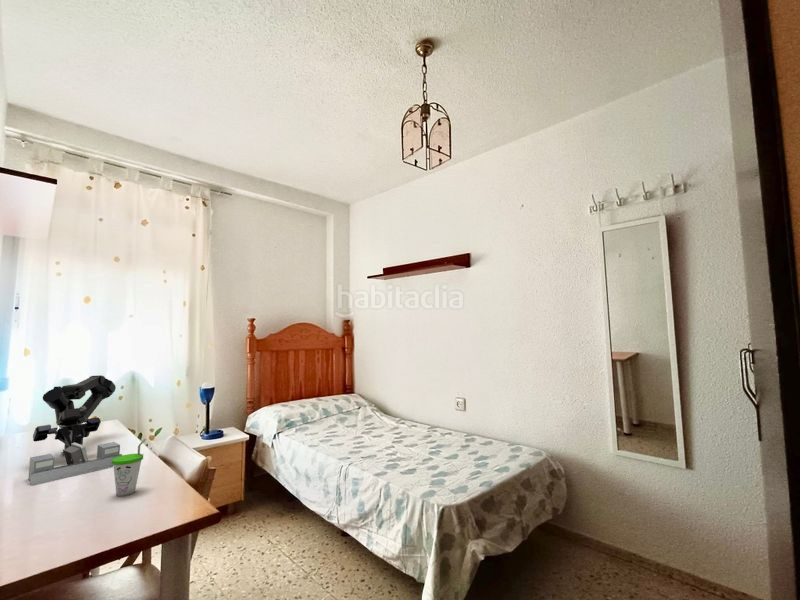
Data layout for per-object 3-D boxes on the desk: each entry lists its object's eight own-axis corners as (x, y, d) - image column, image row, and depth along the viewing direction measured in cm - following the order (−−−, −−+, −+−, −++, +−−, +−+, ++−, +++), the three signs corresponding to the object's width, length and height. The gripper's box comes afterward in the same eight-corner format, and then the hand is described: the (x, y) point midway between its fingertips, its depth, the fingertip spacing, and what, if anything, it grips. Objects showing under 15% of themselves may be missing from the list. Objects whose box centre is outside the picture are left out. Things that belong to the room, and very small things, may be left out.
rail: (29, 483, 119) (30, 472, 119) (119, 463, 138) (120, 453, 138) (31, 485, 118) (31, 474, 118) (121, 464, 136) (122, 454, 137)
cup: (103, 500, 105) (107, 446, 107) (116, 489, 113) (119, 439, 115) (135, 496, 107) (138, 443, 109) (146, 486, 115) (148, 437, 117)
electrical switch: (91, 470, 131) (90, 444, 131) (72, 476, 127) (71, 449, 127) (80, 466, 136) (79, 440, 136) (62, 471, 132) (61, 445, 132)
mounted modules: (28, 479, 123) (30, 457, 124) (112, 460, 141) (113, 441, 142) (32, 484, 119) (34, 461, 120) (119, 464, 137) (120, 444, 138)
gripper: (37, 404, 135) (42, 440, 127) (100, 396, 150) (108, 428, 142) (30, 423, 139) (35, 459, 131) (93, 414, 154) (100, 446, 146)
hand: (71, 447), depth 138 cm, fingers closed
